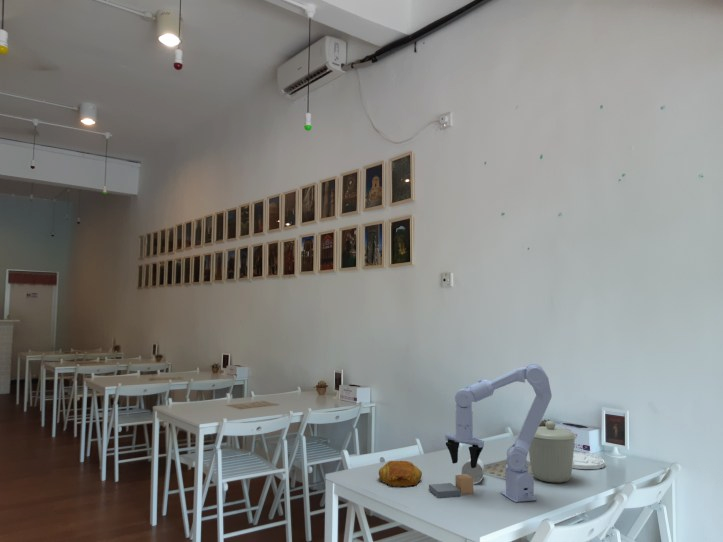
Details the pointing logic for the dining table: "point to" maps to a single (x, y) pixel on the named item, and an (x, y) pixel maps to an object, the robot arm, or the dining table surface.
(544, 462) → the canister
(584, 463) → the embossed medallion
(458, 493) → the slate coaster
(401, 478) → the croissant
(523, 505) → the dining table surface
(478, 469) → the white cup
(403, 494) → the dining table surface
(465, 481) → the tan rectangular block
